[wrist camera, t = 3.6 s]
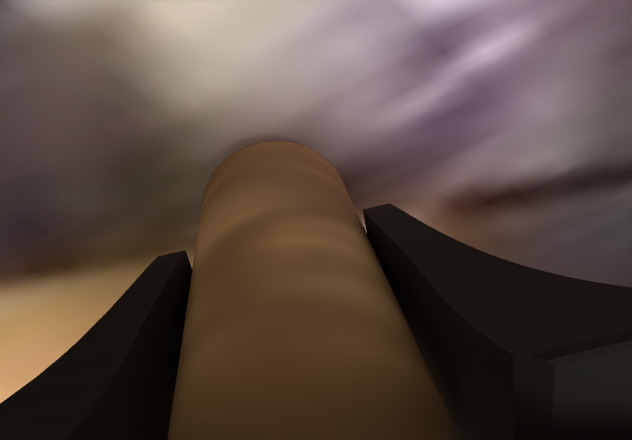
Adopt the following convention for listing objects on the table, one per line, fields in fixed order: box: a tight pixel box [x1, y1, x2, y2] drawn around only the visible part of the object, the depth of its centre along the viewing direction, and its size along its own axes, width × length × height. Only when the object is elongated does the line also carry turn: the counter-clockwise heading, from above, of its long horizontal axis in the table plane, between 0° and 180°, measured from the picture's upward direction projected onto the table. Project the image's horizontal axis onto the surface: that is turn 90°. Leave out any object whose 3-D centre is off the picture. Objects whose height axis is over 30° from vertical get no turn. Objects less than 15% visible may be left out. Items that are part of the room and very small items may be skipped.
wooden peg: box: [167, 141, 451, 440], centre depth 11 cm, size 4×4×8 cm
